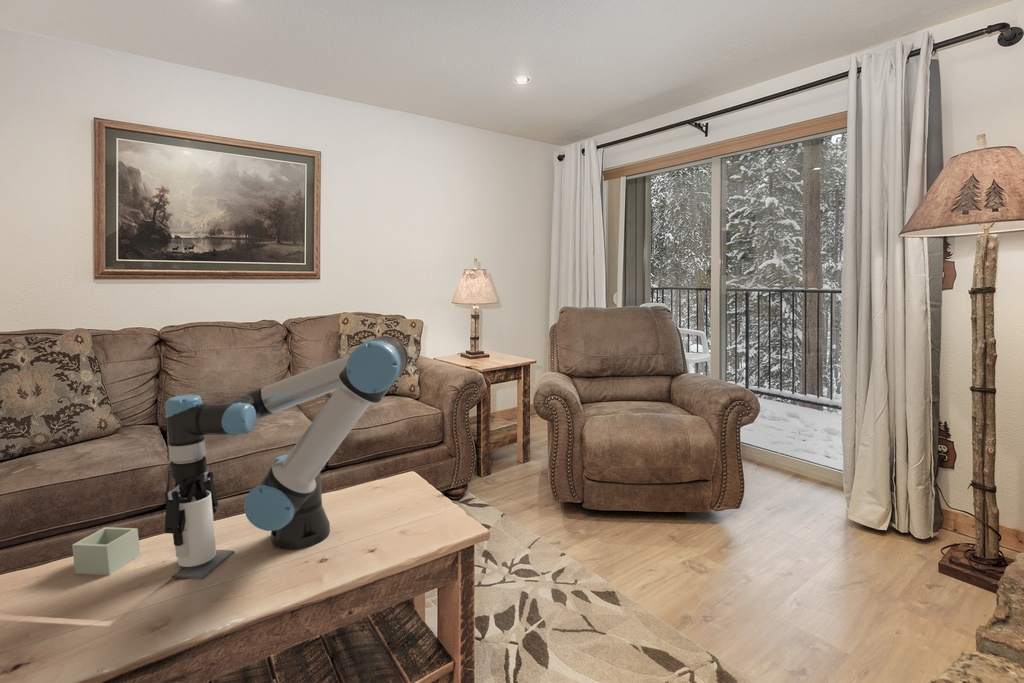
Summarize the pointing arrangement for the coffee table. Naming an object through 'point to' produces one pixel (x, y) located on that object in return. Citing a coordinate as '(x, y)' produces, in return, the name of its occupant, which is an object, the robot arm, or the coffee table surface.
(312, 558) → the coffee table surface
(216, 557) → the coaster
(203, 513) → the cup
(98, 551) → the planter
